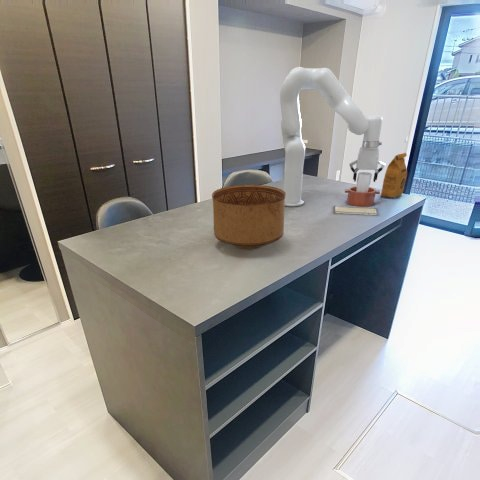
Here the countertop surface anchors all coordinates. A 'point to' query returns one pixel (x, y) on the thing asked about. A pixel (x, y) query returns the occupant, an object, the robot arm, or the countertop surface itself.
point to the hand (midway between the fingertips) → (364, 181)
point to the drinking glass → (363, 182)
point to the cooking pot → (361, 197)
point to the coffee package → (395, 177)
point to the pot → (248, 215)
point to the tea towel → (355, 210)
